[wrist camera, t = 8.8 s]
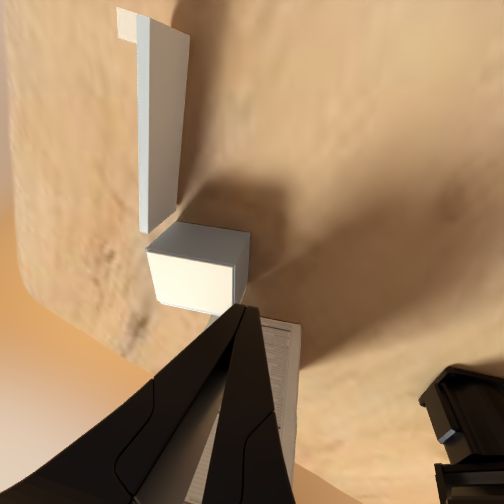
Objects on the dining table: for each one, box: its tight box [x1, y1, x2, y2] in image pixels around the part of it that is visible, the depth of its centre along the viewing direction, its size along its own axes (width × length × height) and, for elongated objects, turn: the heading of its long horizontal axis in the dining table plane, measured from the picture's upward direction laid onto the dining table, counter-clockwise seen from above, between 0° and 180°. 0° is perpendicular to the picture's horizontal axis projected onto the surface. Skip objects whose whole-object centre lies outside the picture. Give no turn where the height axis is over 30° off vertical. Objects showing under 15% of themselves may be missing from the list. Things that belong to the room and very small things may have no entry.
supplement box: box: [183, 315, 302, 504], centre depth 20 cm, size 10×9×17 cm
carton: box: [146, 221, 250, 316], centre depth 20 cm, size 6×6×5 cm
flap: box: [117, 7, 190, 234], centre depth 15 cm, size 11×2×4 cm, turn 166°
